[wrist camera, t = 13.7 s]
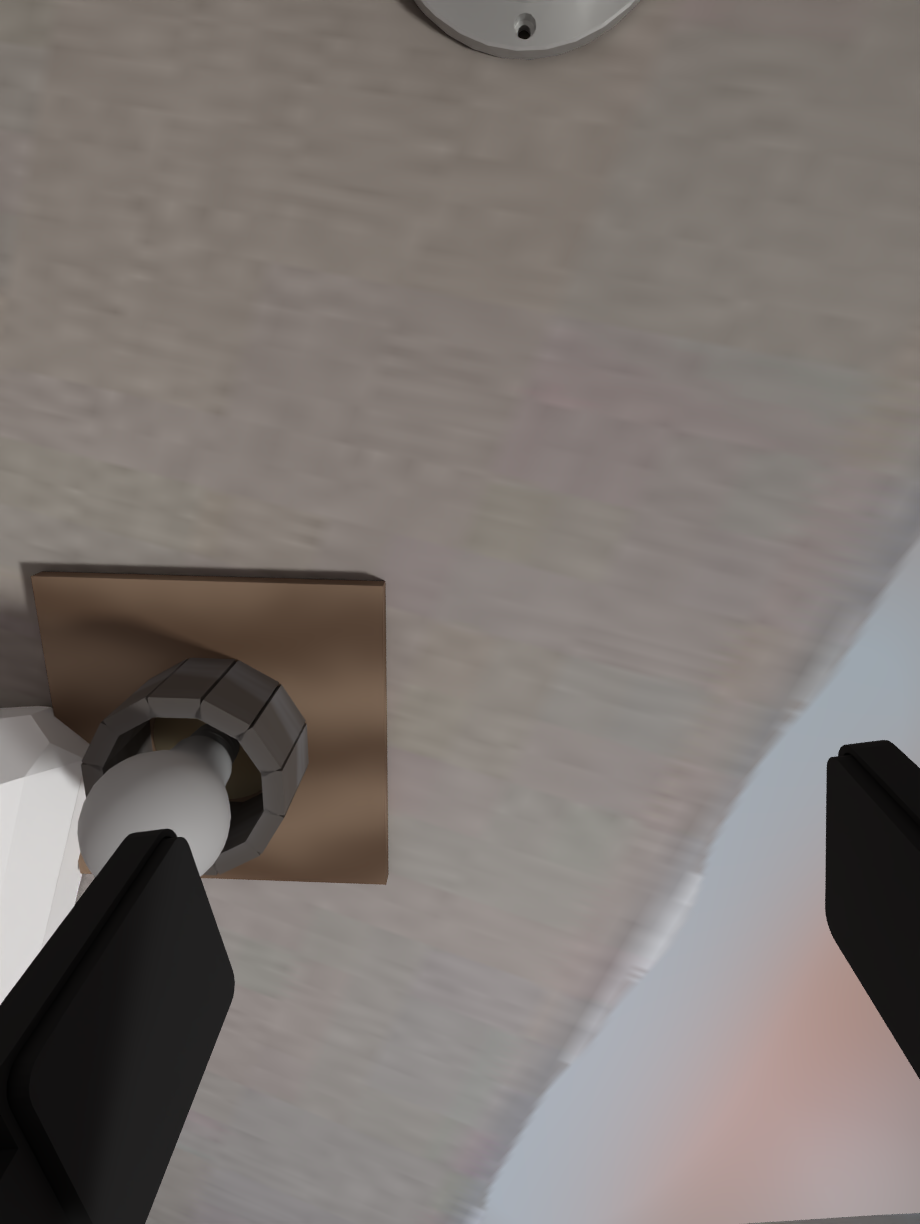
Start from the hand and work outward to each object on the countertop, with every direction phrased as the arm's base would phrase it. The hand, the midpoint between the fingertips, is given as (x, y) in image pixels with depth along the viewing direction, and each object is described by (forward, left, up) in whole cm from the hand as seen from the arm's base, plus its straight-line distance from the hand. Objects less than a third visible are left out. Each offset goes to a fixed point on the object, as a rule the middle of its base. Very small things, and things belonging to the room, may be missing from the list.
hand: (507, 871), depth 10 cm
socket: (+12, -14, -27) cm, 32 cm away
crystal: (+21, -27, -27) cm, 44 cm away
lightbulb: (+12, -14, -26) cm, 31 cm away
